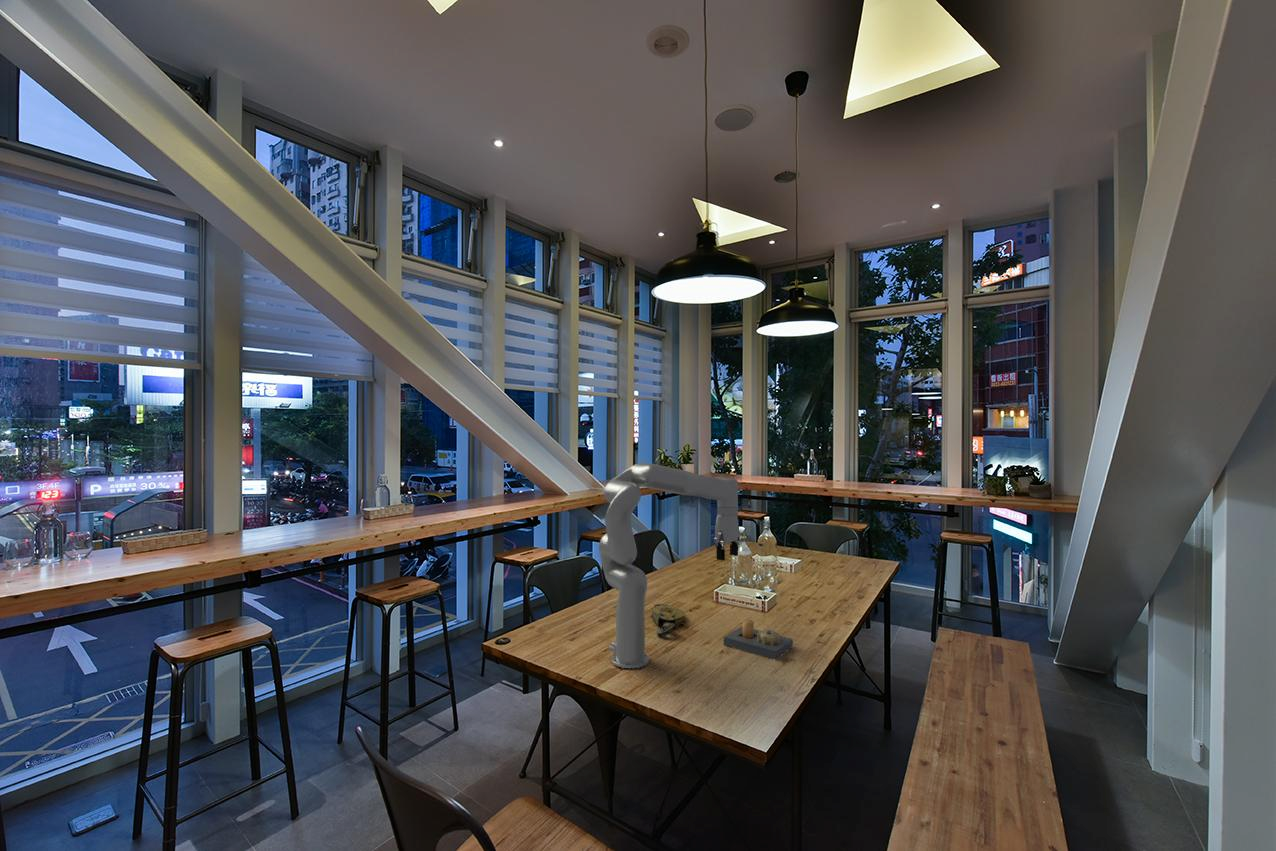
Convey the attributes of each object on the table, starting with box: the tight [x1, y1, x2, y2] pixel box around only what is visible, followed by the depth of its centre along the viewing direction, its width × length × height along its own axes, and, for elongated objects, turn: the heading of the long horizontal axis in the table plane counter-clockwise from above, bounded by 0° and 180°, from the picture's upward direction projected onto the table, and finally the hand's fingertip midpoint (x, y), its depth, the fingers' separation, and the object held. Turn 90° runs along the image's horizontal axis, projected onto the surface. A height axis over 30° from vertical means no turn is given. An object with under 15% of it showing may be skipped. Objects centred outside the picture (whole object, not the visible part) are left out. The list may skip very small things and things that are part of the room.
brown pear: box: [741, 619, 755, 639], centre depth 195 cm, size 4×4×8 cm
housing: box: [723, 626, 794, 661], centre depth 192 cm, size 20×14×6 cm
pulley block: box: [650, 603, 686, 638], centre depth 213 cm, size 14×6×30 cm
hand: (727, 557), depth 199 cm, fingers open, 9 cm apart
